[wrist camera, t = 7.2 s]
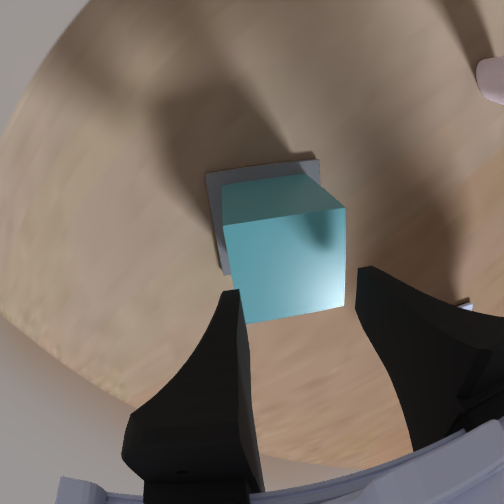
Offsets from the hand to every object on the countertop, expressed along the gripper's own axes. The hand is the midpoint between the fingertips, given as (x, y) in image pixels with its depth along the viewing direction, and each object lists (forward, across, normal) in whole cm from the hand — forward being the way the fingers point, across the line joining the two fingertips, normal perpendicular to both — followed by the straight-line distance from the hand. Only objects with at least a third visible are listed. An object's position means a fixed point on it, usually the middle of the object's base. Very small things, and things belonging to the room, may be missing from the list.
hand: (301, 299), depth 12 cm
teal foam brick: (+9, 0, 0) cm, 9 cm away
